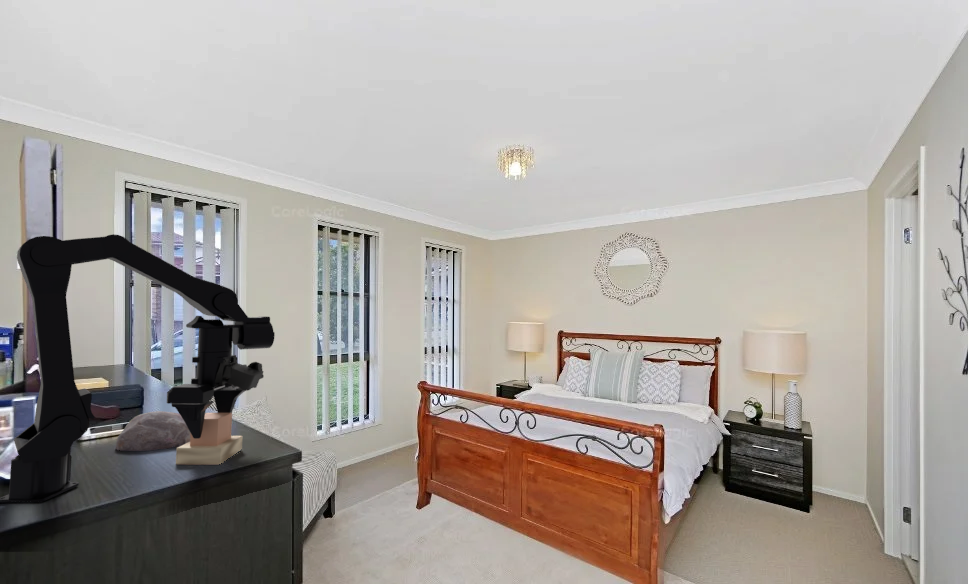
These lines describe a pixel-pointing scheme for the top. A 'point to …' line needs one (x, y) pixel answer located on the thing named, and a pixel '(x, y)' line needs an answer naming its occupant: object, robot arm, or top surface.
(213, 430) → the block
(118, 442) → the stone
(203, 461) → the base
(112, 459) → the top surface
